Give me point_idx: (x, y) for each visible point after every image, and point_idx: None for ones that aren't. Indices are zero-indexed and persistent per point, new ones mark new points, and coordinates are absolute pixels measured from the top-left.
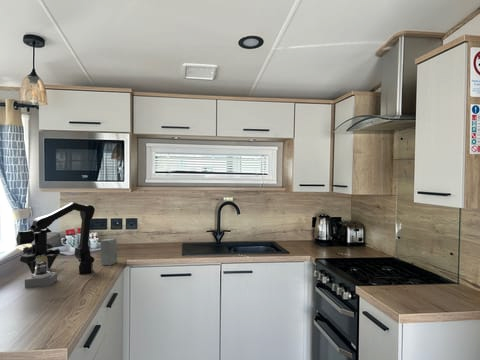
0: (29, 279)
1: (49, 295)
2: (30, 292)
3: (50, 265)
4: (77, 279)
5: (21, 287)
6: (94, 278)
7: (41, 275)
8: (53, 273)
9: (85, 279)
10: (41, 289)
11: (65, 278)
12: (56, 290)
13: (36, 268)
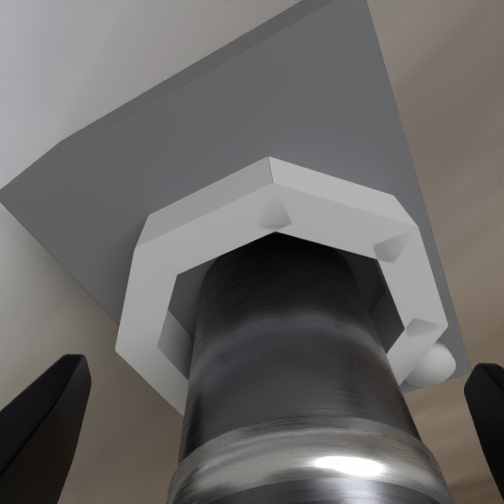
0: (61, 259)
1: (66, 485)
2: (9, 345)
3: (497, 484)
4: (443, 431)
5: (29, 88)
6: (467, 496)
7: (183, 411)
8: (407, 379)
9: (442, 470)
10: (119, 368)
11: (483, 332)
12: (160, 463)
13: (192, 418)
